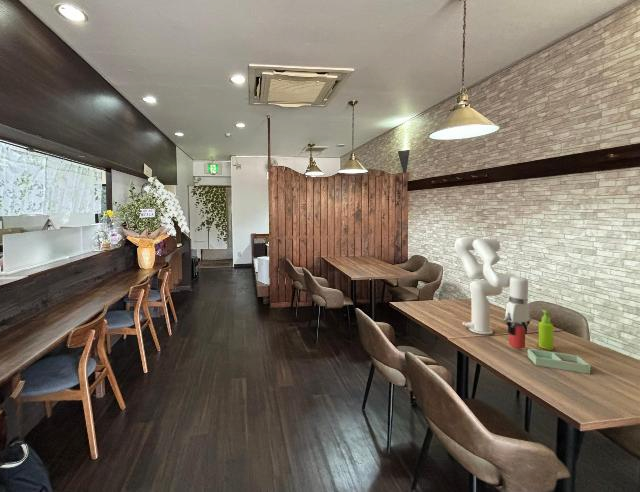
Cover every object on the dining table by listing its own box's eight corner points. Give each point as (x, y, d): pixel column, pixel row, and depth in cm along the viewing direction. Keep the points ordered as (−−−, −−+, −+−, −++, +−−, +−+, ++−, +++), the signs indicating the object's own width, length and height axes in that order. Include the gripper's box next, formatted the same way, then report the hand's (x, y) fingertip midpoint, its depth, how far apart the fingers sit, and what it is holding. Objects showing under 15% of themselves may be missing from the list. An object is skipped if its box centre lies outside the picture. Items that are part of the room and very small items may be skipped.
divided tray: (535, 365, 138) (535, 357, 137) (527, 355, 147) (527, 348, 147) (590, 373, 130) (590, 365, 130) (577, 363, 139) (577, 355, 139)
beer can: (527, 349, 149) (528, 327, 149) (513, 348, 151) (514, 326, 150) (520, 343, 156) (520, 322, 155) (506, 342, 157) (506, 321, 156)
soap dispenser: (548, 345, 159) (548, 309, 158) (555, 350, 152) (555, 313, 152) (535, 343, 161) (535, 308, 160) (542, 349, 154) (542, 312, 154)
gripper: (526, 297, 157) (525, 329, 158) (497, 299, 155) (496, 331, 156) (539, 302, 149) (538, 335, 150) (509, 303, 147) (508, 337, 148)
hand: (517, 333), depth 153 cm, fingers closed on beer can, 6 cm apart
